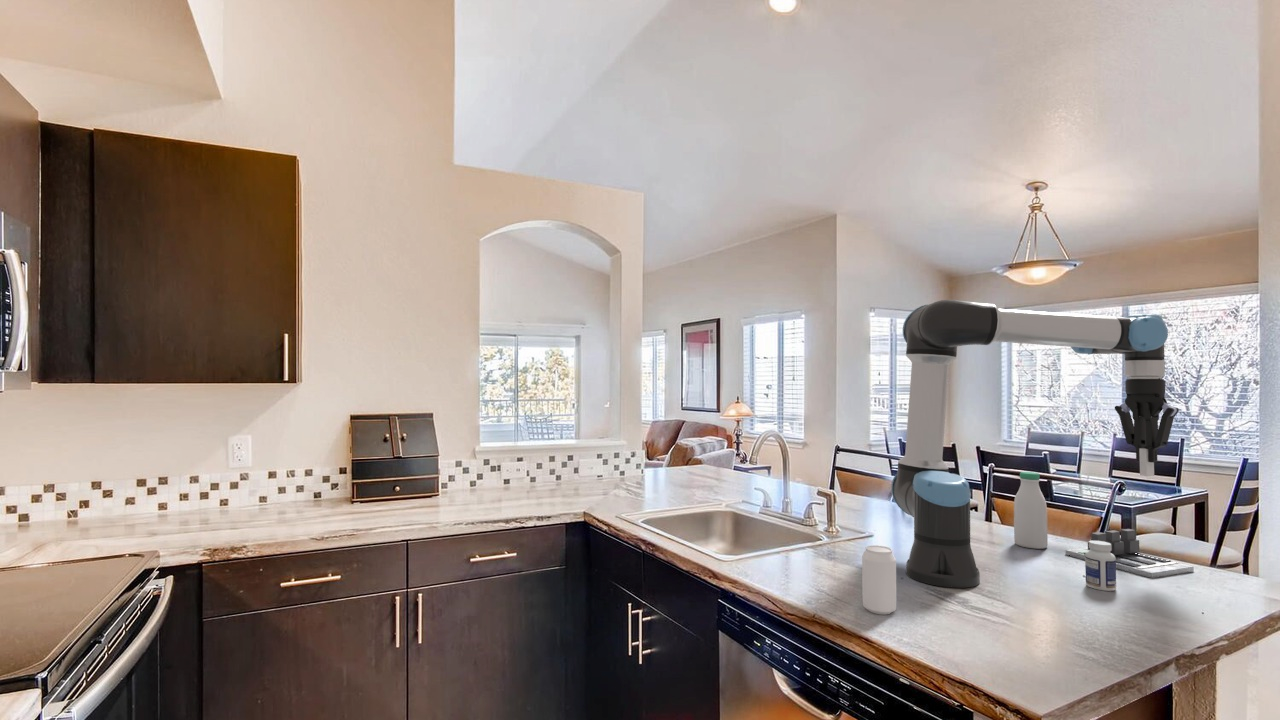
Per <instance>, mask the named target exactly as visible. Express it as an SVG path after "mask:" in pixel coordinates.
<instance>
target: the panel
mask: <svg viewBox="0 0 1280 720" xmlns="http://www.w3.org/2000/svg"><path fill="white" fill-rule="evenodd" d="M1086 551H1088V546H1087V547H1078V548H1073V549H1066V550H1065V555H1066V556H1069V555H1070V557H1072V556H1073V558H1077V559H1080V560H1084V561H1085V553H1086ZM1138 554H1140V555H1138ZM1143 555H1145V556H1143ZM1114 556H1115V558H1116V570H1121V571H1125V572H1128V573H1132V574H1135V575H1139V576H1142V577H1146V578H1150V579H1154V578H1155V579H1157V578H1162V577H1168V576H1169V577H1170V576H1174V575H1181V574H1187V573H1194V566H1193V565H1189V564H1184V563H1181V562H1177V563H1176V561H1173V562H1171V561H1172V560H1169V559H1168V560H1169V561H1166V560H1167V559H1165V558H1161V557H1157V556H1155V555H1154V556H1153V555H1149V554H1145V553H1142V552H1141V553H1140V552H1137V554H1135V553H1127V552H1124V554H1119V555H1114ZM1148 556H1150V557H1148ZM1151 557H1154V558H1151ZM1156 558H1158V559H1156ZM1161 559H1163V560H1161Z"/></svg>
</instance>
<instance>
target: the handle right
mask: <svg viewBox="0 0 1280 720" xmlns="http://www.w3.org/2000/svg"><path fill="white" fill-rule="evenodd" d="M1120 541H1122V542H1124V552H1127V553H1140V551H1141V550H1140V539H1136V529H1132V528H1121V529H1120Z"/></svg>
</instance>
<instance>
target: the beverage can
mask: <svg viewBox="0 0 1280 720" xmlns="http://www.w3.org/2000/svg"><path fill="white" fill-rule="evenodd" d="M861 558H862V559H861V564H862V565H861V568H862V569H861V572H862V573H861V574H862V575H861V578H862V580H861V582H862V583H861V584H862V587H861V589H862V590H861V591H862V593H861V594H862V605H863V606H862V607H864V608H865V609H866V610H868V612H870V613H872V614H876V615H883V616H884V615H889V614H892V612H895V611H896V610H897V559H896V557H895V555H894V553H893V549H892V548H891V547H888V546H883V545H873V544H872V545H866V546H865V550H864V552H863V554H862V556H861Z"/></svg>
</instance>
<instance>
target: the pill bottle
mask: <svg viewBox="0 0 1280 720" xmlns="http://www.w3.org/2000/svg"><path fill="white" fill-rule="evenodd" d="M1088 542H1089V548H1090V550H1088V551H1086V553H1085V560H1084V562H1085V565H1084V567H1085V585H1086V586H1087V587H1089V588H1091V589H1093V590H1094V589H1095V590H1098V591H1104V592H1105V591H1106V592H1112V591H1115V590H1116V589H1117V569H1116V558H1115V556H1114V555H1113V554H1112V553H1110V551H1111V550H1112V548H1111V544H1110V543H1108V542H1104V541H1091V540H1089V541H1088Z"/></svg>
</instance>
